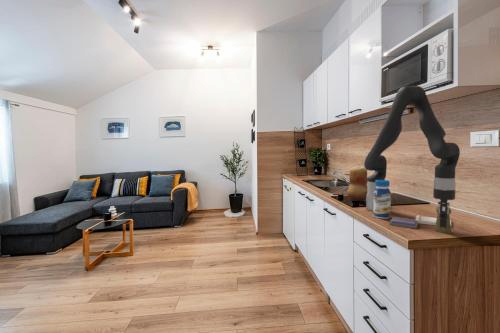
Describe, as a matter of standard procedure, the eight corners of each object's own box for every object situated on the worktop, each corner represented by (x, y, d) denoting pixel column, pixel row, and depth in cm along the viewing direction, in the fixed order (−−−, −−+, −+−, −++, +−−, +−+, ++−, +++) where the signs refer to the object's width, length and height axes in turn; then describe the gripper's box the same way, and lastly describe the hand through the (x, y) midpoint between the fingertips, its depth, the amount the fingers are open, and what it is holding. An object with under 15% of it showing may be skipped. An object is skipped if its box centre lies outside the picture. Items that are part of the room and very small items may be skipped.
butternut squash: (349, 203, 165) (349, 167, 164) (345, 199, 178) (346, 165, 177) (371, 203, 162) (371, 167, 161) (366, 199, 175) (366, 165, 174)
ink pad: (389, 224, 117) (389, 220, 117) (392, 219, 125) (392, 216, 125) (416, 228, 110) (416, 224, 110) (418, 223, 118) (418, 219, 118)
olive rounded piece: (433, 231, 107) (433, 206, 106) (435, 228, 111) (436, 204, 110) (450, 234, 103) (451, 209, 102) (452, 230, 107) (453, 206, 106)
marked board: (414, 222, 120) (414, 220, 120) (416, 217, 129) (416, 215, 129) (451, 227, 111) (451, 225, 111) (450, 221, 120) (450, 219, 120)
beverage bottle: (389, 215, 133) (389, 179, 132) (392, 219, 125) (392, 181, 124) (372, 214, 136) (372, 179, 135) (373, 218, 128) (374, 181, 127)
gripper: (433, 185, 113) (432, 221, 115) (433, 189, 102) (431, 228, 103) (454, 186, 109) (453, 223, 110) (456, 191, 98) (454, 232, 99)
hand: (443, 226), depth 107 cm, fingers closed on olive rounded piece, 4 cm apart
